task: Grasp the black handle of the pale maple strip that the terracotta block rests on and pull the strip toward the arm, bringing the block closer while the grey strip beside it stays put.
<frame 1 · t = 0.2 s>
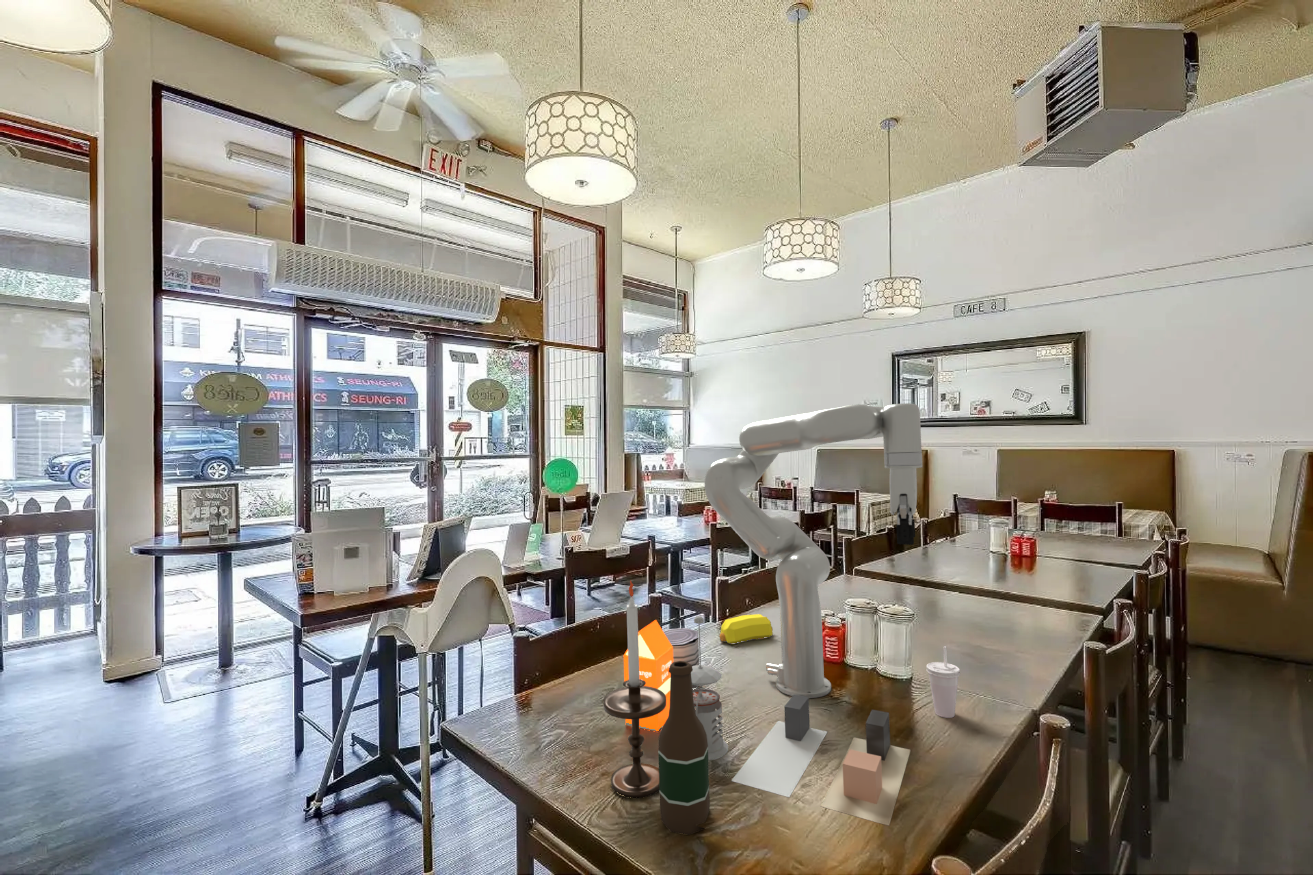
hand: (906, 540, 125), 36 cm above the table, tool pointing down, fingers open, 9 cm apart
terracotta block: (863, 791, 94), point 1 cm above the table, touching maple strip
yellow rounded bar: (746, 639, 173), on the table
smoothie: (944, 714, 122), on the table
candlestick: (637, 783, 101), on the table
grey strip: (782, 740, 106), point 4 cm above the table, slide at 0.0 cm
orange juice: (650, 720, 124), on the table
french press: (701, 750, 111), on the table
beer bottle: (685, 820, 90), on the table
can: (676, 684, 142), on the table
maple strip: (868, 760, 98), point 4 cm above the table, slide at 0.0 cm, touching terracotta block
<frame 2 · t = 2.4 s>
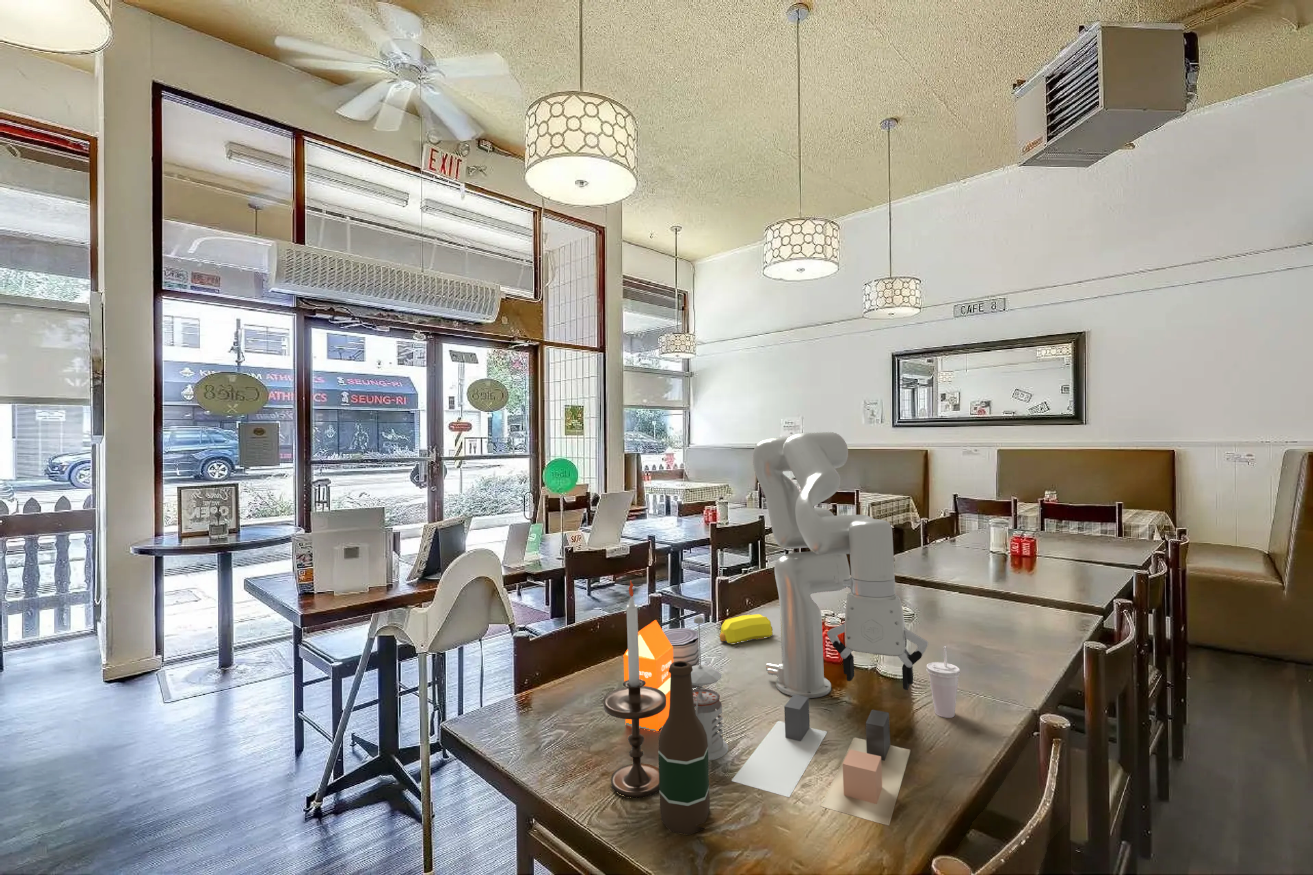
hand: (878, 682, 106), 14 cm above the table, tool pointing down, fingers open, 9 cm apart
nothing on the table moved.
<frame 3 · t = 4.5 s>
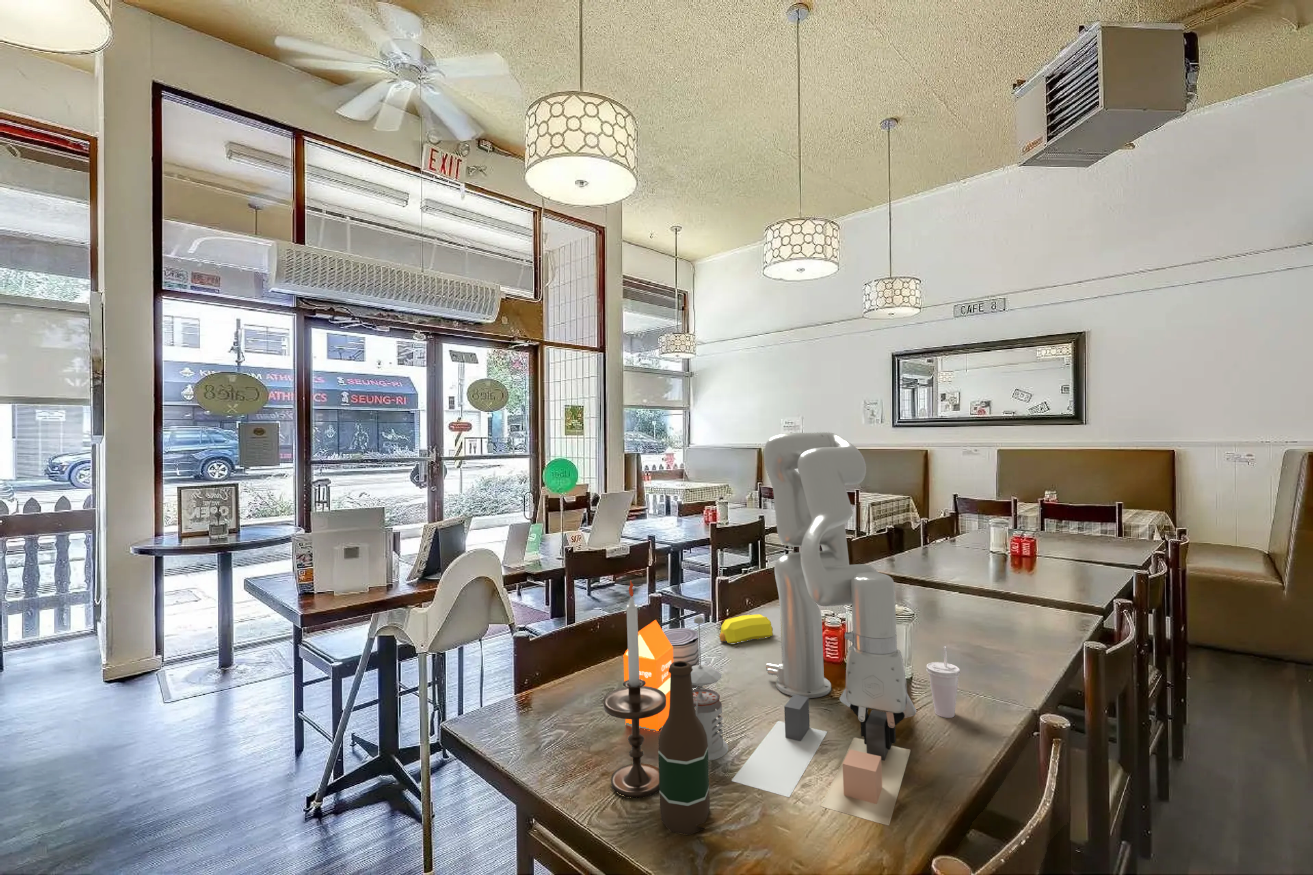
hand: (878, 742, 106), 3 cm above the table, tool pointing down, fingers closed on maple strip, 3 cm apart
maple strip: (868, 760, 98), point 4 cm above the table, slide at 0.0 cm, touching gripper, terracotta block
everything else where it was.
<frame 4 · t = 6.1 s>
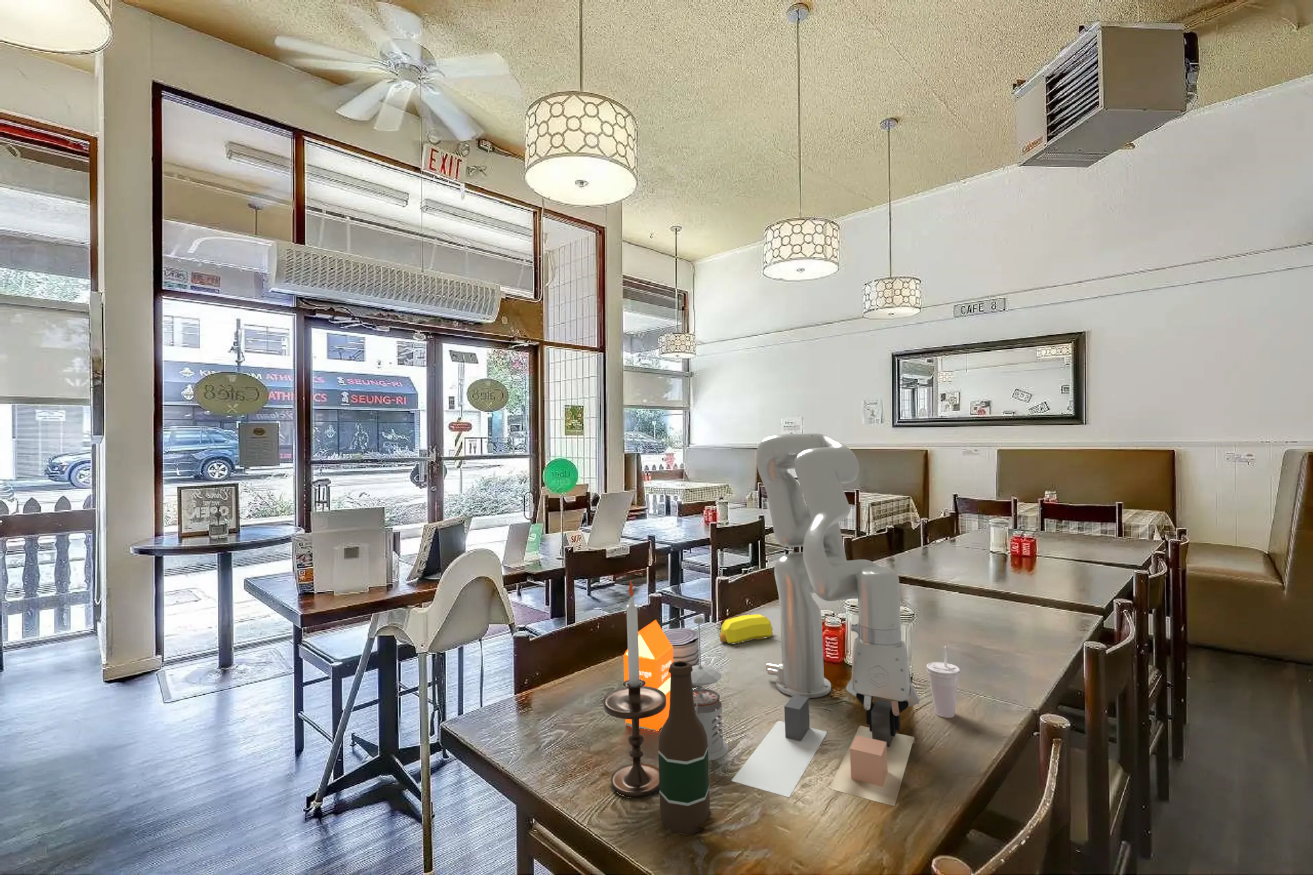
hand: (883, 729, 111), 3 cm above the table, tool pointing down, fingers closed on maple strip, 3 cm apart
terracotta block: (869, 774, 99), point 1 cm above the table, touching maple strip
maple strip: (874, 746, 103), point 4 cm above the table, slide at 5.3 cm, touching gripper, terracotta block
everything else where it was.
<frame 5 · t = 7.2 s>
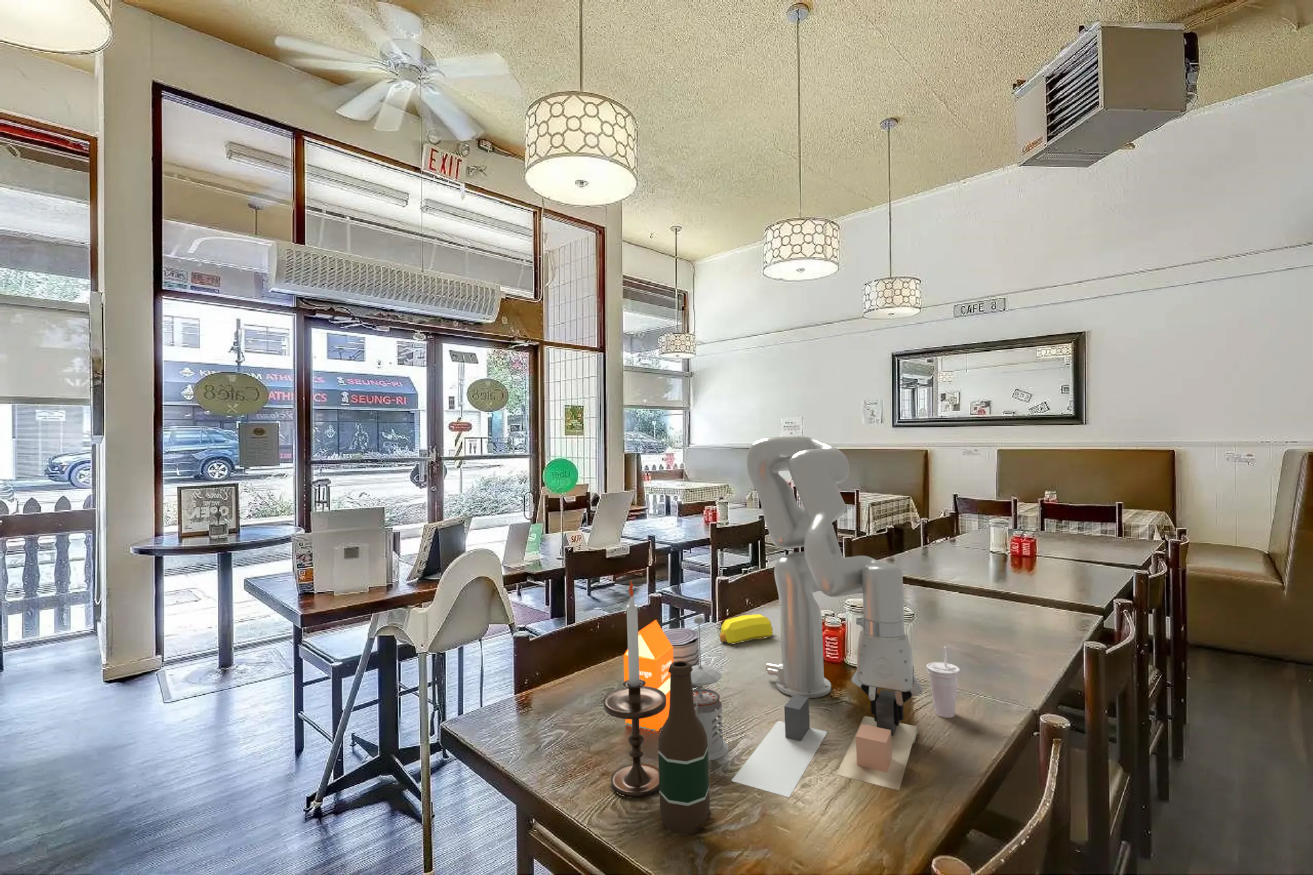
hand: (887, 719, 115), 3 cm above the table, tool pointing down, fingers closed on maple strip, 3 cm apart
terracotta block: (874, 761, 103), point 1 cm above the table, touching maple strip
maple strip: (879, 734, 107), point 4 cm above the table, slide at 9.9 cm, touching gripper, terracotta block
everything else where it was.
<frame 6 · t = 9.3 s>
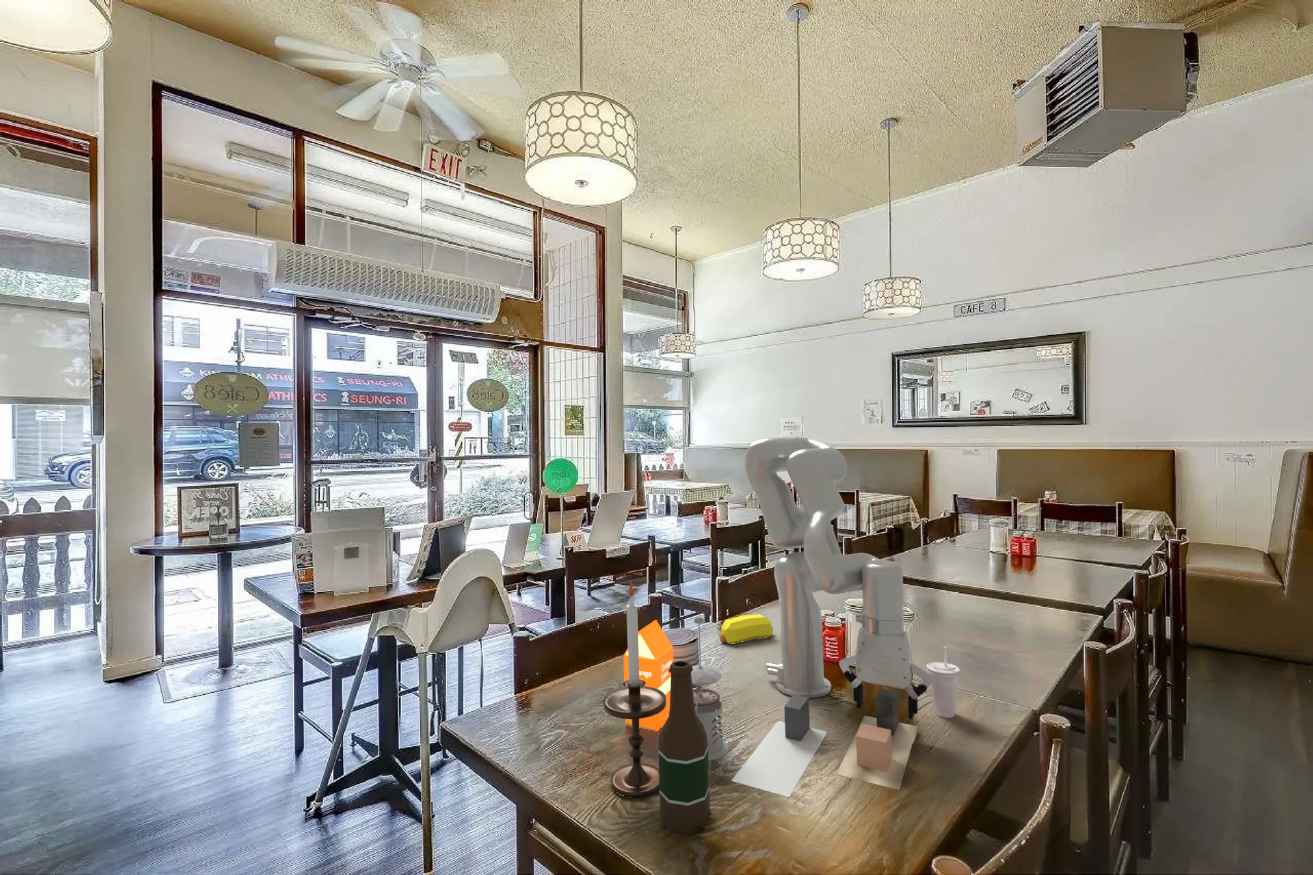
hand: (885, 710, 115), 4 cm above the table, tool pointing down, fingers open, 9 cm apart
maple strip: (879, 734, 107), point 4 cm above the table, slide at 10.0 cm, touching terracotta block
everything else where it was.
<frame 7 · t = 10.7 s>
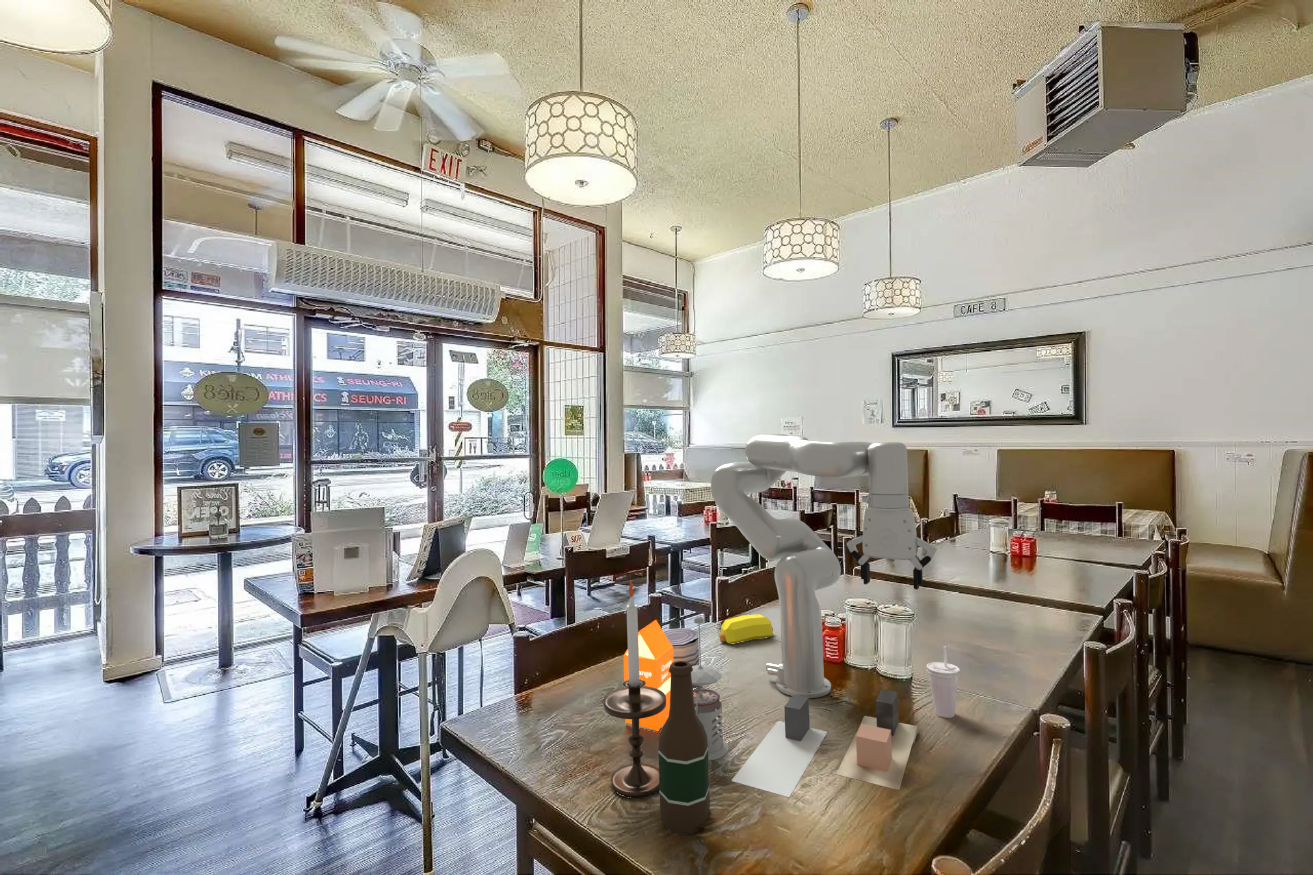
hand: (891, 585, 120), 28 cm above the table, tool pointing down, fingers open, 9 cm apart
nothing on the table moved.
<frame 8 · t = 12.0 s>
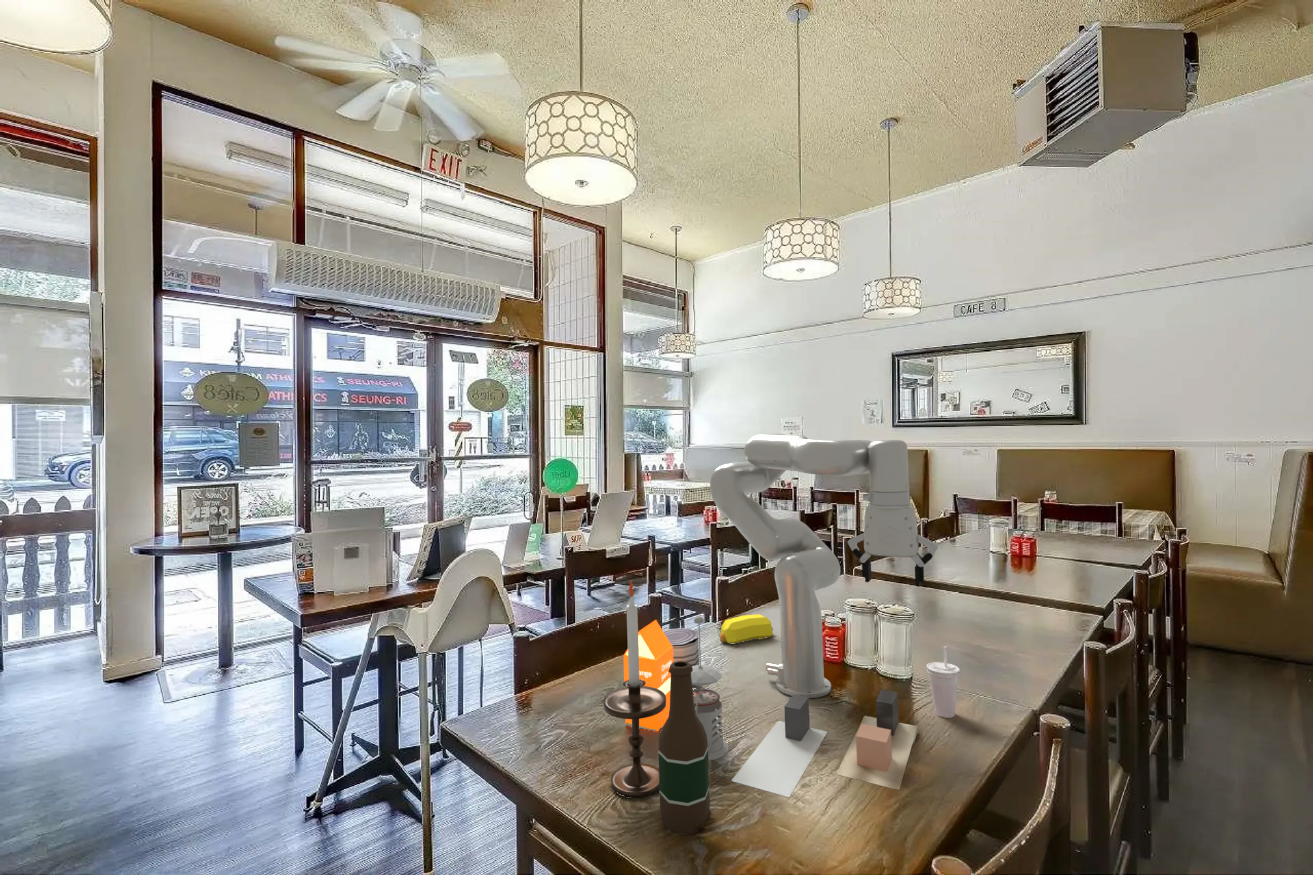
hand: (892, 583, 120), 28 cm above the table, tool pointing down, fingers open, 9 cm apart
nothing on the table moved.
at the end: maple strip slide at 10.0 cm; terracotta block inside the target area (0.5 cm from its centre), point 1.2 cm above the table; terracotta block tilted 0° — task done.
